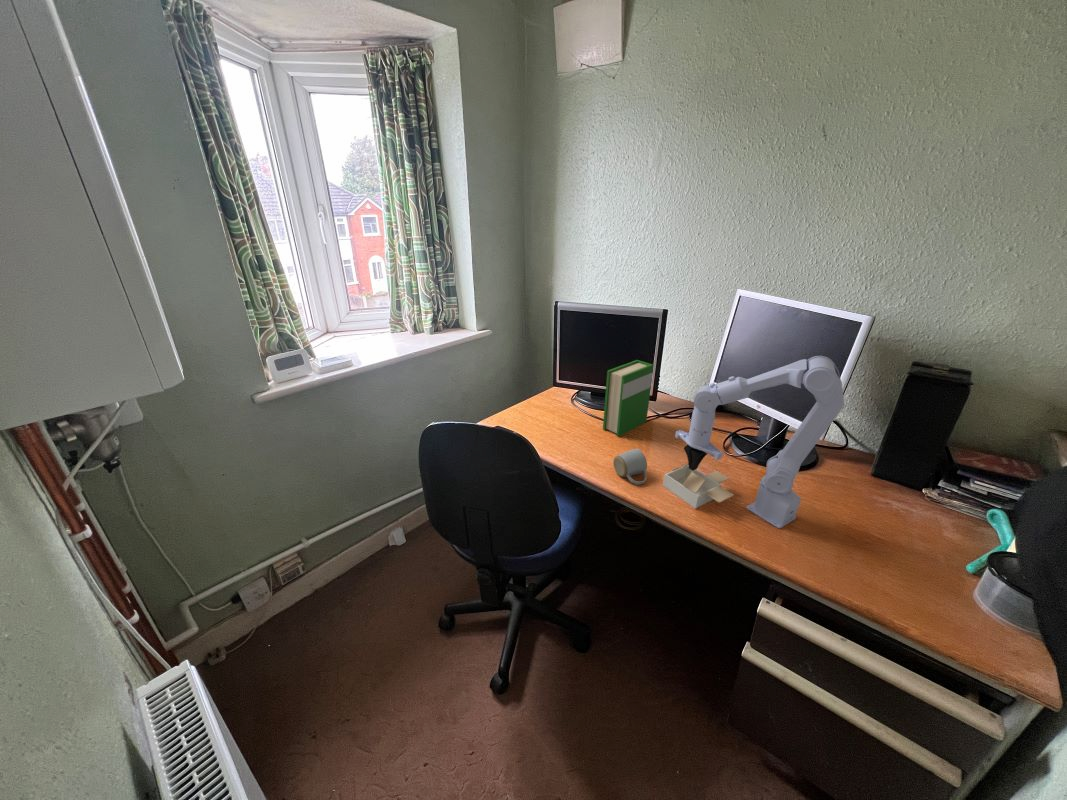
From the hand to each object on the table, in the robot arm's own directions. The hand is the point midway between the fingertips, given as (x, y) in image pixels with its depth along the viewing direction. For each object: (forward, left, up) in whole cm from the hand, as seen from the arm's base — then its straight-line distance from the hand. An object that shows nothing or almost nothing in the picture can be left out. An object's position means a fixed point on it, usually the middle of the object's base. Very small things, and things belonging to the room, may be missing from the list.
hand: (693, 468), depth 117 cm
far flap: (+3, 0, -1) cm, 3 cm away
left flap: (-4, +4, -1) cm, 6 cm away
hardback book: (+39, -10, -7) cm, 41 cm away
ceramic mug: (+14, +10, -7) cm, 19 cm away
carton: (-3, -1, -7) cm, 8 cm away
